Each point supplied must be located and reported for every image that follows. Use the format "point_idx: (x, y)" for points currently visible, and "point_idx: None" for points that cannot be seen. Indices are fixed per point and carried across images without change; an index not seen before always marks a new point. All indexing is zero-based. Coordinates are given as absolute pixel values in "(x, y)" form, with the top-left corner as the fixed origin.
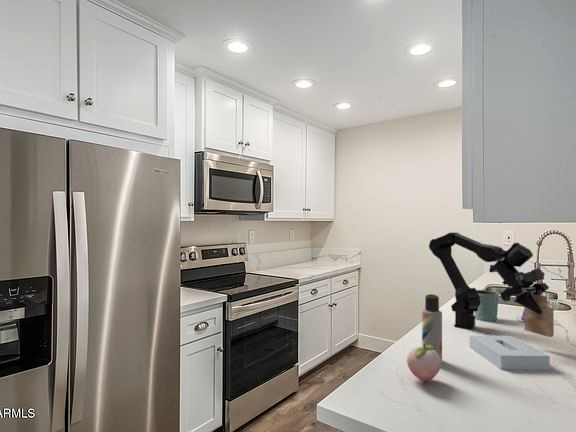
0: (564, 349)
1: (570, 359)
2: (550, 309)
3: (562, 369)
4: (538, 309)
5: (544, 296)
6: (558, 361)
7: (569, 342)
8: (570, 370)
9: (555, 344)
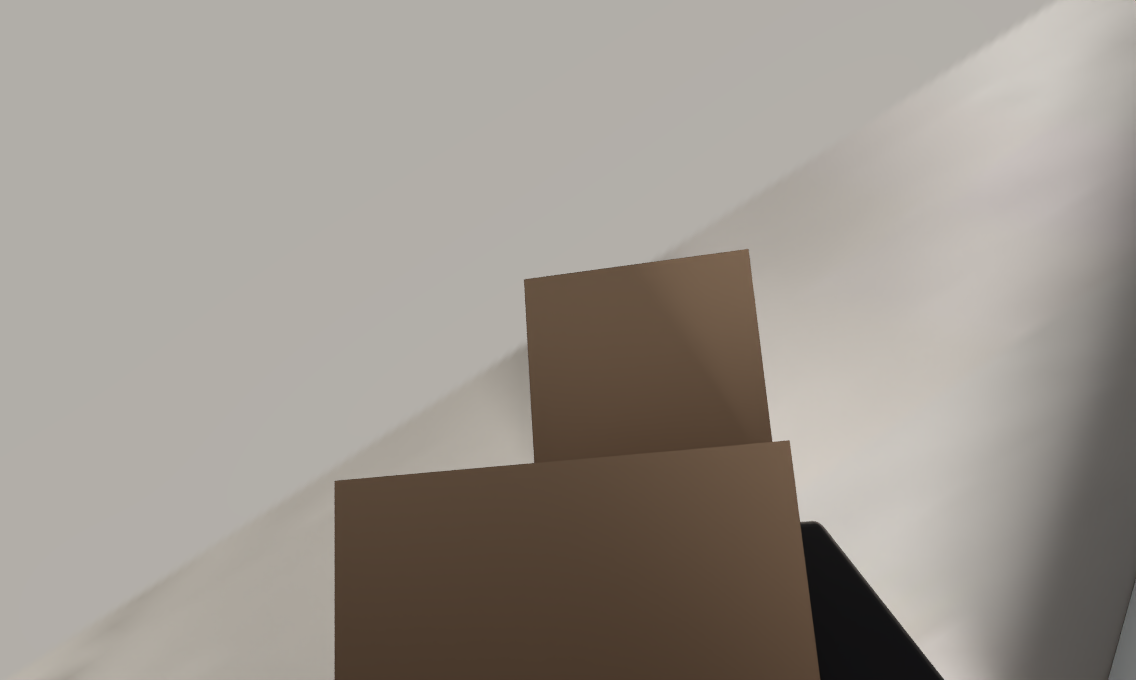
0: None
1: None
2: (705, 257)
3: (1080, 76)
4: (879, 605)
5: (449, 564)
6: (877, 253)
7: (92, 645)
8: (1012, 39)
9: (311, 665)
